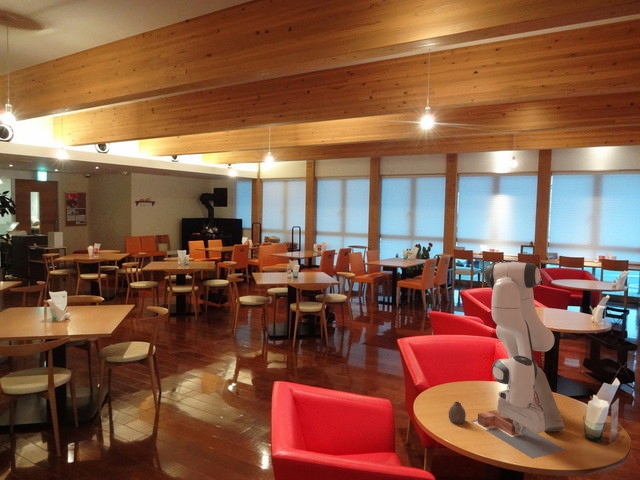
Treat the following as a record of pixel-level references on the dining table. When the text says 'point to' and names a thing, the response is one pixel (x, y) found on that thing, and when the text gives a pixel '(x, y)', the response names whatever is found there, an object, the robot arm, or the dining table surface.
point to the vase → (457, 413)
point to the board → (525, 441)
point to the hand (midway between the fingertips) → (519, 433)
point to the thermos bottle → (547, 403)
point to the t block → (496, 421)
